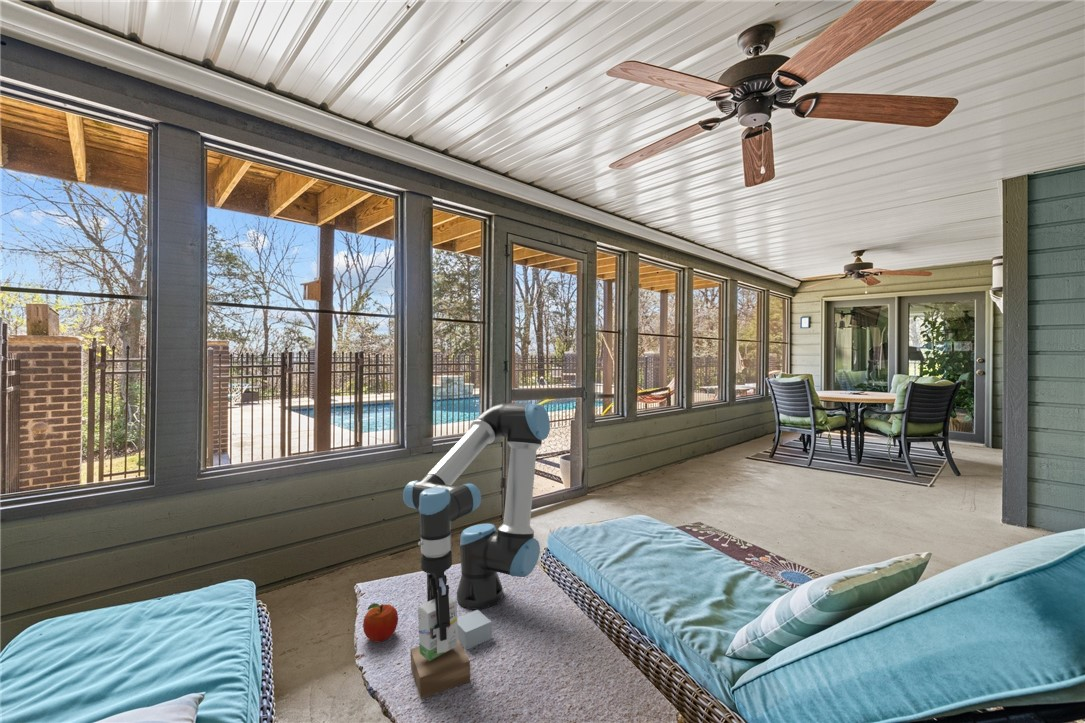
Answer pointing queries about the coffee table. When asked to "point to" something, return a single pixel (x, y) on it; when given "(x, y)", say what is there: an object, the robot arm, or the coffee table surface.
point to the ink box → (429, 632)
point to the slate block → (473, 629)
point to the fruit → (380, 622)
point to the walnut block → (440, 670)
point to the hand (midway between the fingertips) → (439, 643)
